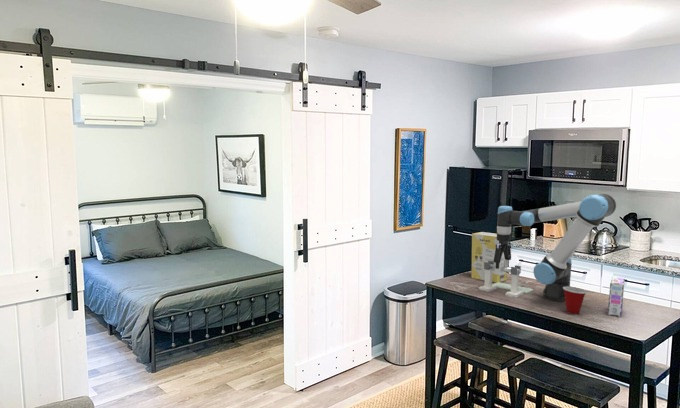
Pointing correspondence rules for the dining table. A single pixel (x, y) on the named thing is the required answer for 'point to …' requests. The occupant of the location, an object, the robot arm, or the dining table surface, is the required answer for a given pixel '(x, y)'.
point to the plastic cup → (573, 299)
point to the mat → (508, 287)
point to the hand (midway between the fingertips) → (501, 272)
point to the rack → (490, 287)
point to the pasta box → (485, 256)
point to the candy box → (616, 296)
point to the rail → (504, 269)
